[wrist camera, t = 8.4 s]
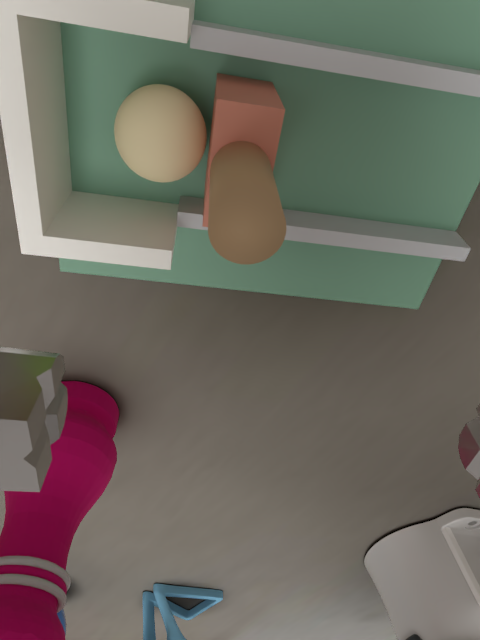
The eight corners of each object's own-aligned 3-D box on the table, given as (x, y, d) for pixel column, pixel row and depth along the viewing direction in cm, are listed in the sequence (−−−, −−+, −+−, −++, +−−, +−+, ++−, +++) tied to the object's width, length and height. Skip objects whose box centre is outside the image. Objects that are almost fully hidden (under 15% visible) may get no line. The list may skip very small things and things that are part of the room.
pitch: (575, -50, 19) (693, -55, 14) (412, 300, 30) (449, 363, 25) (25, -170, 16) (-53, -226, 12) (64, 262, 27) (32, 324, 22)
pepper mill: (35, 363, 32) (-142, 750, 16) (136, 389, 34) (66, 757, 18) (22, 426, 36) (-131, 786, 20) (113, 446, 38) (38, 789, 22)
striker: (272, 82, 21) (306, 154, 13) (253, 188, 24) (271, 300, 16) (216, 72, 20) (216, 141, 12) (204, 182, 23) (198, 293, 15)
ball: (136, 97, 17) (99, 71, 19) (134, 200, 19) (102, 165, 22) (229, 99, 19) (185, 75, 21) (217, 193, 21) (178, 161, 24)
